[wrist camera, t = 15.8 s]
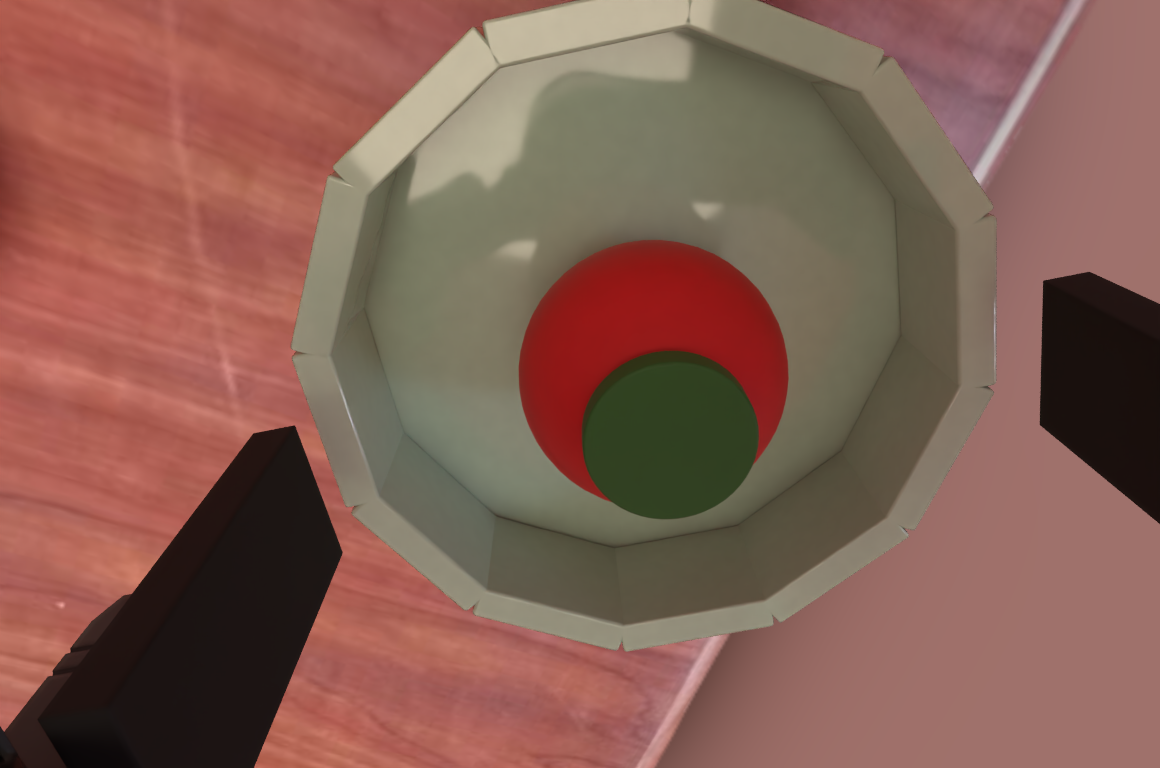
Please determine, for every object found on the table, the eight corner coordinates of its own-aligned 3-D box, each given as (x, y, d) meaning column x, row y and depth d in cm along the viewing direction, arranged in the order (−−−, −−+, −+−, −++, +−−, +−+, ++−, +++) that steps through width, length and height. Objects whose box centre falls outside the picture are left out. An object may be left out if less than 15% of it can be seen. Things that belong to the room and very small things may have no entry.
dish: (761, -28, 29) (999, -93, 14) (797, 334, 35) (998, 587, 19) (381, 55, 30) (190, 85, 14) (474, 397, 36) (411, 690, 20)
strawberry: (735, 187, 19) (817, 260, 13) (761, 402, 21) (842, 548, 15) (500, 236, 19) (475, 328, 13) (550, 442, 21) (548, 600, 15)
